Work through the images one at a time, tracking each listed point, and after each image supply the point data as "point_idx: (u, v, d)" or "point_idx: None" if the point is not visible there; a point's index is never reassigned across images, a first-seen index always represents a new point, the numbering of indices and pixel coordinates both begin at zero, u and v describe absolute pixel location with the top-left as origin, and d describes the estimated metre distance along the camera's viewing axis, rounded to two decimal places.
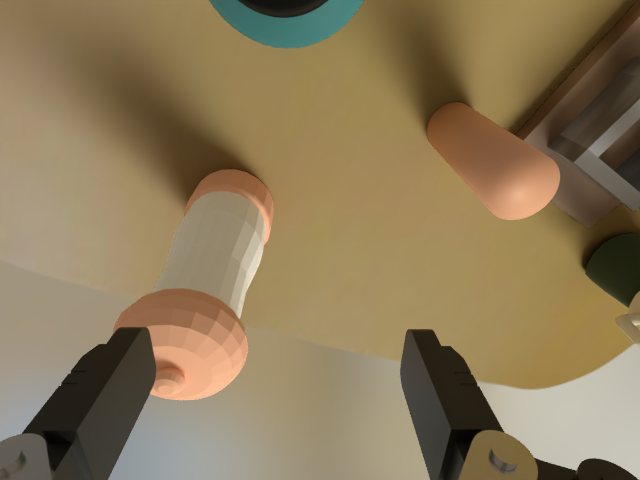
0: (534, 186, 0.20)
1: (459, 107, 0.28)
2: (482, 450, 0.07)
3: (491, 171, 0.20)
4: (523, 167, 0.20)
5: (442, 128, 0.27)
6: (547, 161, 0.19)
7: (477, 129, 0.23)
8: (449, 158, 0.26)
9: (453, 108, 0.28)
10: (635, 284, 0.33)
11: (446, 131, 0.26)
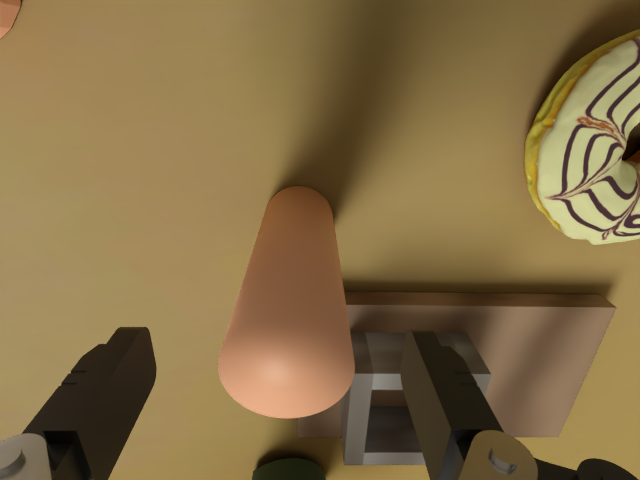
0: (301, 382, 0.11)
1: (326, 208, 0.20)
2: (482, 450, 0.07)
3: (277, 308, 0.10)
4: (317, 346, 0.10)
5: (291, 205, 0.18)
6: (347, 369, 0.11)
7: (319, 243, 0.15)
8: (260, 239, 0.16)
9: (320, 202, 0.20)
10: None
11: (290, 211, 0.17)
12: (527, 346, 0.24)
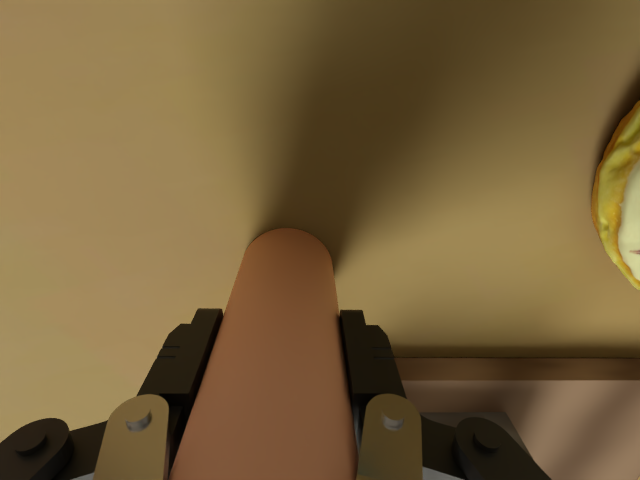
0: None
1: (324, 261, 0.14)
2: (375, 410, 0.08)
3: None
4: None
5: (274, 265, 0.12)
6: None
7: (315, 344, 0.09)
8: (225, 328, 0.10)
9: (316, 253, 0.14)
10: None
11: (273, 277, 0.12)
12: (581, 426, 0.19)
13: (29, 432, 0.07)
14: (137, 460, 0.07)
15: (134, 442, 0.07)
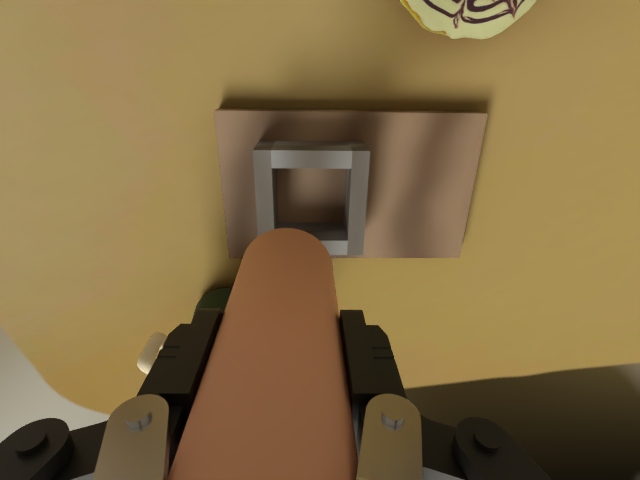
0: None
1: (324, 261, 0.14)
2: (375, 410, 0.08)
3: None
4: None
5: (273, 265, 0.12)
6: None
7: (314, 344, 0.09)
8: (224, 328, 0.10)
9: (316, 253, 0.14)
10: None
11: (272, 277, 0.12)
12: (417, 156, 0.28)
13: (29, 432, 0.07)
14: (137, 460, 0.07)
15: (135, 443, 0.07)
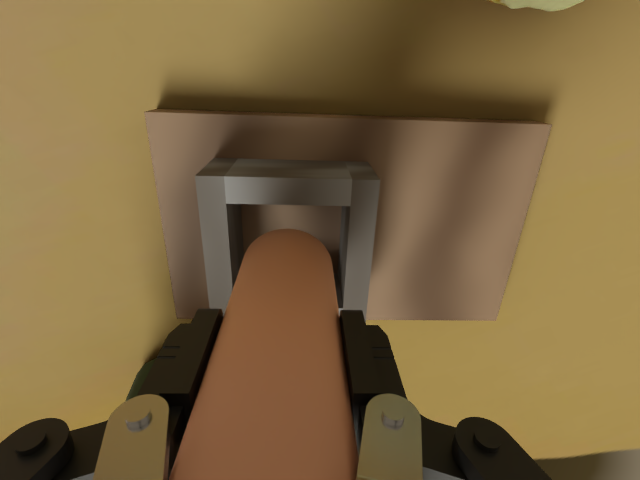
0: None
1: (324, 262, 0.14)
2: (375, 410, 0.08)
3: None
4: None
5: (274, 266, 0.12)
6: None
7: (315, 345, 0.09)
8: (225, 329, 0.10)
9: (316, 254, 0.14)
10: None
11: (273, 277, 0.12)
12: (445, 183, 0.19)
13: (29, 432, 0.07)
14: (137, 460, 0.07)
15: (135, 442, 0.07)
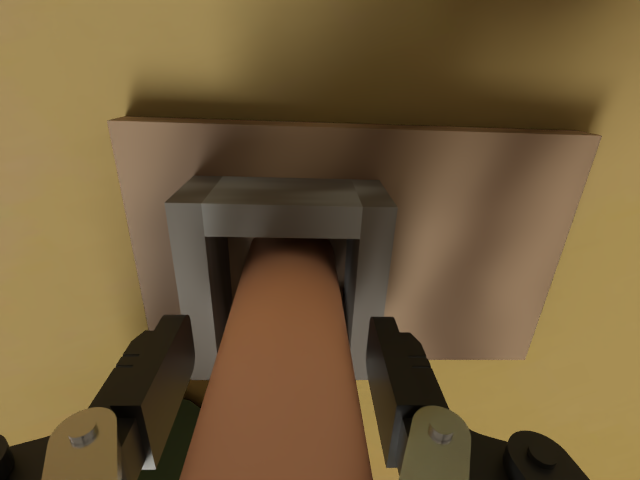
0: None
1: (326, 251, 0.15)
2: (422, 423, 0.08)
3: None
4: None
5: (280, 252, 0.13)
6: None
7: (321, 321, 0.10)
8: (237, 308, 0.11)
9: (319, 243, 0.15)
10: None
11: (280, 263, 0.13)
12: (471, 205, 0.16)
13: None
14: (75, 479, 0.07)
15: (82, 458, 0.07)
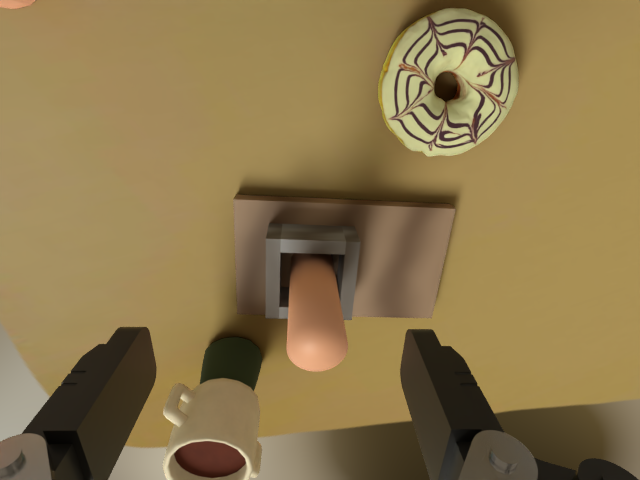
0: (323, 353, 0.24)
1: (329, 259, 0.33)
2: (482, 450, 0.07)
3: (315, 319, 0.23)
4: (331, 336, 0.24)
5: (310, 259, 0.31)
6: (344, 347, 0.24)
7: (329, 285, 0.28)
8: (296, 281, 0.29)
9: (326, 255, 0.33)
10: (218, 376, 0.35)
11: (311, 264, 0.30)
12: (398, 238, 0.34)
13: None
14: None
15: None
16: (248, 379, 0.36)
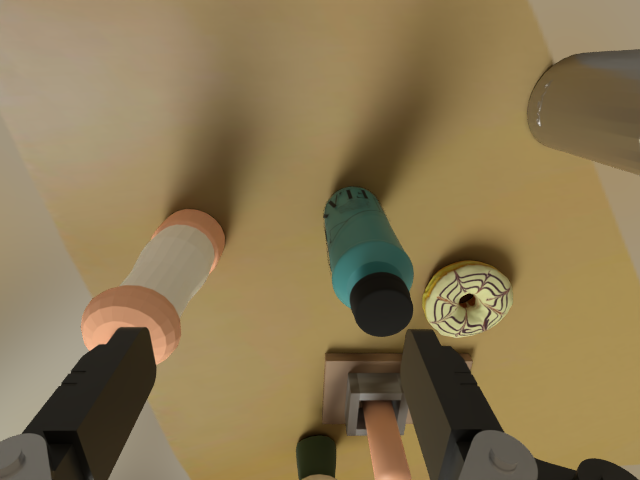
0: None
1: None
2: (482, 450, 0.07)
3: (392, 465, 0.40)
4: (402, 474, 0.40)
5: (378, 402, 0.48)
6: (409, 479, 0.41)
7: (394, 428, 0.45)
8: (372, 423, 0.46)
9: None
10: (313, 469, 0.52)
11: (379, 407, 0.47)
12: None
13: None
14: None
15: None
16: (332, 469, 0.53)
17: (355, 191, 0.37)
